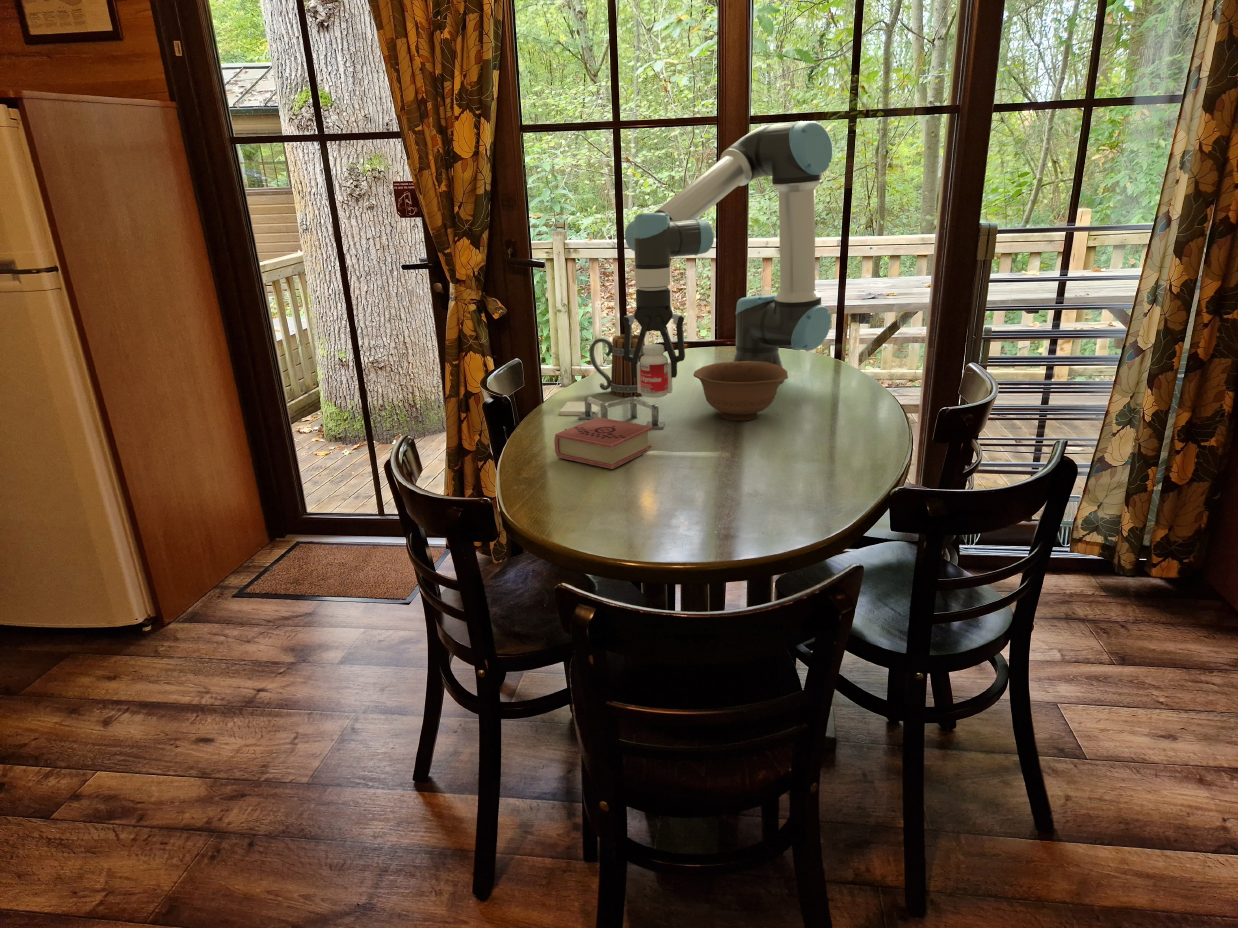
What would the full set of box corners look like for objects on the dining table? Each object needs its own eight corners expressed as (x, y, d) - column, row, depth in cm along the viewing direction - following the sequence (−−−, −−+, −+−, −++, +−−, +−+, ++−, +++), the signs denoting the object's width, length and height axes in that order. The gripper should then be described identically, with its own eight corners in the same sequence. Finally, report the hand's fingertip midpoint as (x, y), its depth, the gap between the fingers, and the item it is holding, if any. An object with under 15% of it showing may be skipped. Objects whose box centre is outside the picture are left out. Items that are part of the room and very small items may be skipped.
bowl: (804, 412, 187) (806, 367, 183) (752, 435, 172) (753, 386, 168) (728, 398, 201) (729, 356, 198) (674, 418, 186) (673, 373, 183)
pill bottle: (636, 397, 175) (635, 348, 172) (646, 390, 181) (645, 342, 177) (662, 399, 173) (661, 349, 169) (672, 392, 178) (671, 344, 174)
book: (595, 438, 175) (594, 416, 173) (652, 449, 166) (651, 426, 165) (553, 456, 164) (552, 433, 162) (612, 468, 156) (611, 445, 154)
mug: (650, 387, 215) (649, 333, 210) (648, 397, 206) (647, 340, 201) (594, 388, 217) (592, 334, 212) (589, 397, 207) (586, 341, 202)
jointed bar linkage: (667, 415, 188) (667, 395, 187) (663, 429, 178) (662, 407, 177) (582, 414, 192) (581, 394, 190) (572, 427, 182) (571, 407, 180)
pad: (602, 405, 199) (602, 401, 199) (596, 415, 191) (595, 411, 190) (568, 405, 201) (567, 401, 200) (559, 415, 192) (559, 411, 192)
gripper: (698, 284, 172) (698, 387, 180) (612, 286, 175) (616, 387, 183) (696, 289, 165) (696, 396, 173) (606, 290, 168) (610, 395, 176)
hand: (655, 391), depth 178 cm, fingers closed on pill bottle, 6 cm apart
